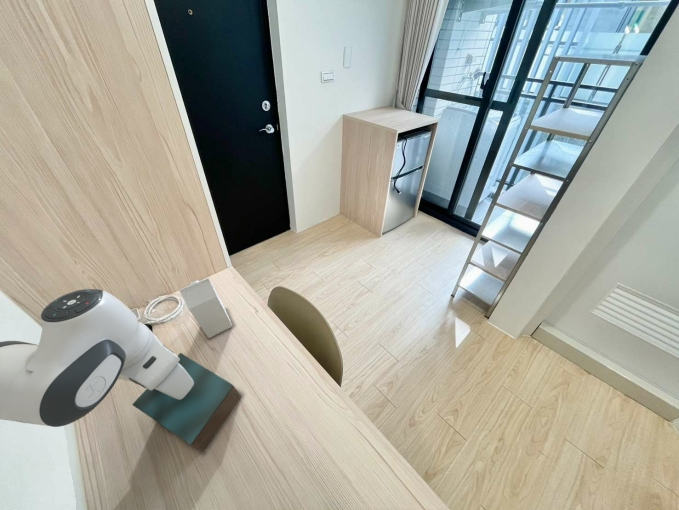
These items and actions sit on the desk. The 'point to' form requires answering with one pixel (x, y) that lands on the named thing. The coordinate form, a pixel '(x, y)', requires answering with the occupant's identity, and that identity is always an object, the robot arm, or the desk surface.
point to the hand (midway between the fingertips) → (165, 380)
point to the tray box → (216, 420)
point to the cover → (186, 402)
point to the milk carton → (206, 307)
